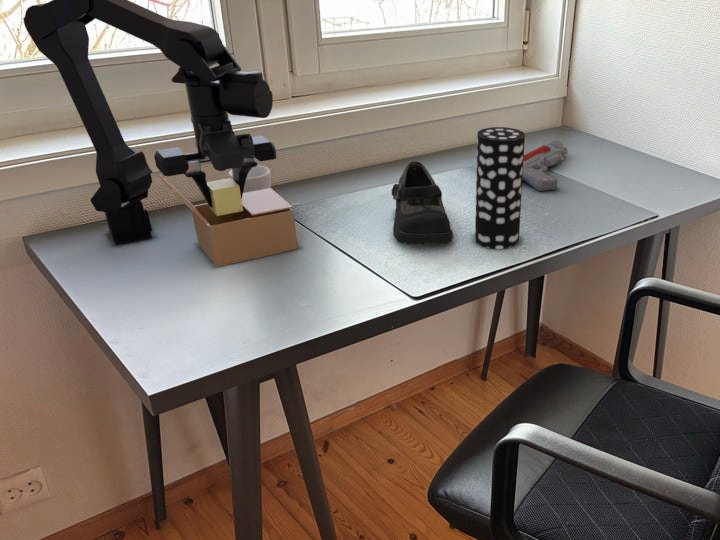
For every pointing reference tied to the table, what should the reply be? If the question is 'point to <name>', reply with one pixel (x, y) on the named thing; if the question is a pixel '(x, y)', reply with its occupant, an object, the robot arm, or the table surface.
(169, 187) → the flap
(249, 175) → the cup
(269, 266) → the table surface
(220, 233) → the carton
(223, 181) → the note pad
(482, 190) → the spotted tube
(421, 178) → the shoe
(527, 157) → the toy gun
